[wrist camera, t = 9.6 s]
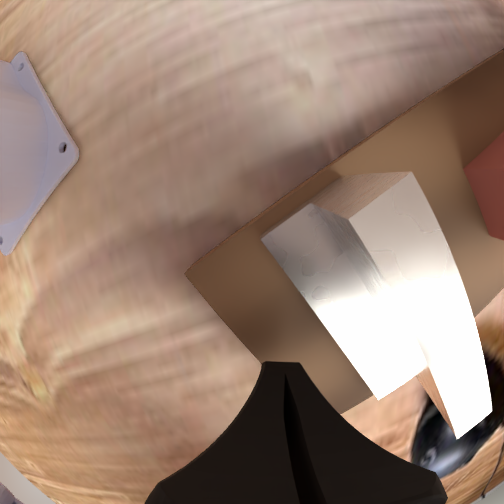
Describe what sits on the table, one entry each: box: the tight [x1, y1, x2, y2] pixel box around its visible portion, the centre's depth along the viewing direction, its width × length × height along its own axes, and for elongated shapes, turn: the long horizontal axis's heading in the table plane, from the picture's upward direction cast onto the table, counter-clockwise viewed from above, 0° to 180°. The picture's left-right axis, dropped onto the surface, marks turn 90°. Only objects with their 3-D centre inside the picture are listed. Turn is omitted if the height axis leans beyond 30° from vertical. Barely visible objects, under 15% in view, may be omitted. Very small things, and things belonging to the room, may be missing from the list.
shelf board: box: [185, 49, 504, 414], centre depth 10 cm, size 10×28×1 cm, turn 127°
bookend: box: [260, 172, 492, 439], centre depth 8 cm, size 9×4×5 cm, turn 37°
